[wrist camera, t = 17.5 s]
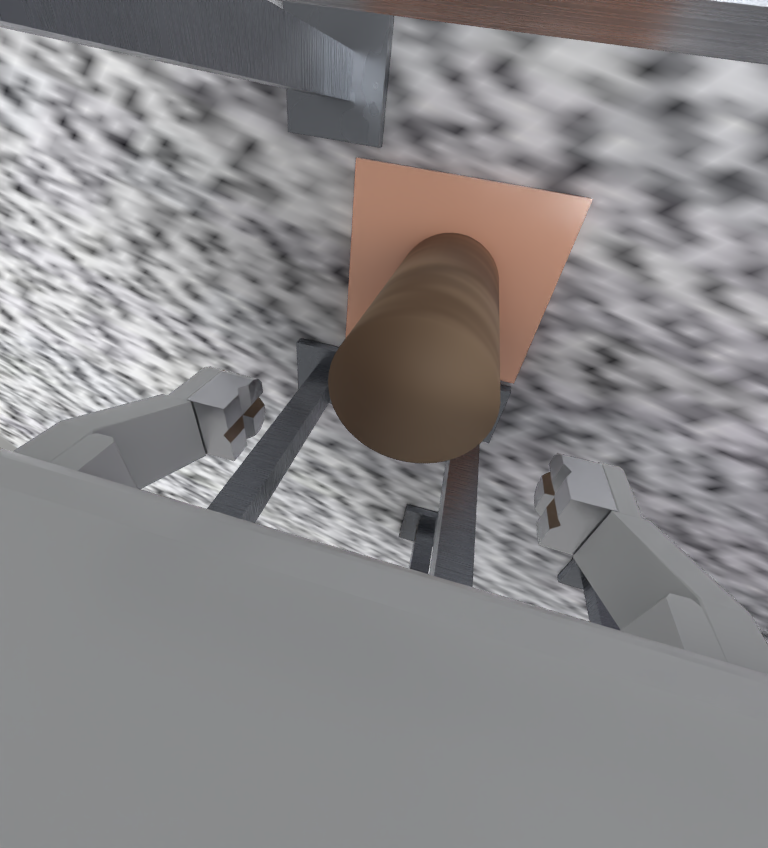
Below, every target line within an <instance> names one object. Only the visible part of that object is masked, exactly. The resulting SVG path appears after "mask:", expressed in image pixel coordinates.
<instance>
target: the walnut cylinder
mask: <svg viewBox="0 0 768 848" xmlns="http://www.w3.org/2000/svg"><path fill="white" fill-rule="evenodd" d="M328 388H329V394H330V399H331V402H332V405H333V408H334V410H335V412H336V414H337V416H338V417H339V419H340V420H341V422H342V424H343V425H344V426H345V427H346V428H347V430H348V431H349V432H350V433H351V434H352V435H353V436H354V437H355V438H357V439H358V440H359V441H360V442H361V443H363V444H364V445H366V446H367V447H369V448H370V449H372V450H374V451H376V452H378V453H380V454H382V455H385V456H387V457H390V458H393V459H396V460H400V461H405V462H412V463H437V462H442V461H447V460H450V459H454V458H456V457H459V456H461V455H464V454H465V453H467V452H469V451H471V450H472V449H473V448H475V447H476V446H477V445H479V444H480V443H481V442H482V441H483V440H484V439H485V438H486V437H487V435H488V434H489V433H490V431H491V430H492V428H493V426H494V424H495V422H496V420H497V417H498V414H499V408H500V327H499V275H498V270H497V267H496V264H495V261H494V259H493V257H492V256H491V254H490V253H489V251H488V250H487V249H486V248H485V247H484V246H483V245H482V244H481V243H480V242H478V241H477V240H475V239H473V238H471V237H469V236H467V235H463V234H459V233H441V234H437V235H434V236H431V237H429V238H427V239H424V240H423V241H421V242H420V243H419V244H417V245H416V246H415V247H414V248H413V249H412V250H411V251H410V252H409V254H408V255H407V256H406V258H405V259H404V260H403V262H402V263H401V264H400V266H399V267H398V268H397V270H396V271H395V273H394V274H393V275H392V277H391V278H390V279H389V281H388V282H387V283H386V285H385V286H384V287H383V289H382V290H381V291H380V293H379V294H378V295H377V297H376V298H375V300H374V301H373V302H372V304H371V305H370V306H369V308H368V309H367V310H366V312H365V313H364V314H363V316H362V317H361V318H360V320H359V321H358V322H357V324H356V325H355V327H354V328H353V329H352V331H351V332H350V333H349V335H348V336H347V337H346V339H345V340H344V341H343V343H342V344H341V345H340V347H339V349H338V350H337V352H336V353H335V355H334V357H333V360H332V362H331V366H330V370H329V377H328Z"/></svg>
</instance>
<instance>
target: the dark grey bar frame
mask: <svg viewBox="0 0 768 848" xmlns="http://www.w3.org/2000/svg"><path fill="white" fill-rule="evenodd" d="M279 1H283V9H281V8H280V7H278V6H276V5H275V4H273V3H271V2H270V1H268V0H0V27H2V28H7V29H11V30H16V31H21V32H25V33H30V34H35V35H39V36H44V37H48V38H53V39H58V40H62V41H67V42H72V43H76V44H81V45H85V46H90V47H95V48H99V49H104V50H109V51H113V52H118V53H123V54H127V55H132V56H136V57H141V58H146V59H150V60H155V61H160V62H164V63H169V64H173V65H178V66H183V67H187V68H192V69H197V70H201V71H206V72H210V73H215V74H220V75H224V76H229V77H234V78H238V79H243V80H248V81H252V82H257V83H261V84H266V85H271V86H275V87H280V88H285V89H286V90H287V114H288V132H292V133H298V134H304V135H309V136H315V137H321V138H327V139H333V140H339V141H345V142H350V143H356V144H362V145H368V146H374V147H382V140H383V129H384V118H385V108H386V97H387V86H388V76H389V65H390V54H391V44H392V33H393V22H394V16H401V17H409V18H416V19H424V20H431V21H439V22H447V23H454V24H462V25H470V26H477V27H485V28H492V29H500V30H508V31H515V32H523V33H530V34H538V35H546V36H553V37H561V38H569V39H576V40H584V41H591V42H599V43H607V44H614V45H622V46H629V47H637V48H645V49H652V50H660V51H668V52H675V53H683V54H690V55H698V56H706V57H713V58H721V59H728V60H736V61H744V62H751V63H759V64H767V65H768V0H279ZM338 349H339V347H336V346H332V345H327V344H323V343H319V342H314V341H310V340H306V339H302V338H300V340H299V341H298V342H297V364H298V389H299V390H298V391H297V392H296V394H295V395H294V396H293V398H292V399H291V400H290V401H289V403H288V404H287V405H286V407H285V408H284V409H283V411H282V412H281V413H280V414H279V416H278V417H277V418H276V420H275V421H274V422H273V424H272V425H271V426H270V427H269V429H268V430H267V431H266V433H265V434H264V435H263V437H262V438H261V439H260V441H259V442H258V443H257V444H256V446H255V447H254V448H253V450H252V451H251V452H250V454H249V455H248V456H247V457H246V459H245V460H244V461H243V463H242V464H241V465H240V467H239V468H238V469H237V470H236V472H235V473H234V474H233V476H232V477H231V478H230V480H229V481H228V482H227V484H226V485H225V486H224V487H223V489H222V490H221V491H220V493H219V494H218V495H217V497H216V498H215V499H214V500H213V502H212V503H211V504H210V506H209V507H208V508H207V509H209V510H212V511H216V512H219V513H222V514H226V515H229V516H233V517H236V518H239V519H243V520H246V521H250V522H253V523H255V522H256V520H257V518H258V517H259V515H260V514H261V512H262V510H263V509H264V507H265V505H266V504H267V502H268V501H269V499H270V497H271V496H272V494H273V493H274V491H275V489H276V488H277V486H278V484H279V483H280V481H281V480H282V478H283V476H284V475H285V473H286V471H287V470H288V468H289V467H290V465H291V463H292V462H293V460H294V458H295V457H296V455H297V454H298V452H299V450H300V449H301V447H302V446H303V444H304V442H305V441H306V439H307V437H308V436H309V434H310V433H311V431H312V429H313V428H314V426H315V424H316V423H317V421H318V420H319V418H320V416H321V415H322V413H323V412H324V410H325V408H326V407H327V405H328V403H331V404H332V402H331V399H330V394H329V388H328V377H329V370H330V366H331V362H332V360H333V357H334V355H335V353H336V352H337V350H338ZM510 393H511V388H510V387H508V386H504V385H500V408H499V414H498V417H497V420H496V422H495V424H494V426H493V428H492V430H491V431H490V433H489V434H488V435H487V437H486V438H485V439H484V440H483V442H487V443H489V442H490V440H491V437H492V435H493V433H494V430H495V428H496V426H497V423H498V421H499V419H500V416H501V414H502V412H503V409H504V407H505V405H506V403H507V400H508V398H509V396H510ZM478 464H479V445H477V446H476V447H475V448H473V449H472V450H471V451H469V452H467V453H465V454H464V455H461V456H459V457H456V458H454V459H450V460H447V461H446V465H445V472H444V479H443V485H442V492H441V499H440V506H439V512H438V513H437V512H433V511H430V510H426V509H423V508H419V507H415V506H412V505H408V504H407V508H406V511H405V515H404V519H403V523H402V526H401V530H400V534H399V537H400V538H404V539H407V540H411V541H414V544H413V549H412V554H411V559H410V564H409V569H412V570H416V571H419V572H422V573H426V574H428V571H429V565H430V558H431V551H432V547H433V553H432V559H431V566H430V573H429V575H433V576H436V577H439V578H443V579H446V580H450V581H453V582H457V583H460V584H463V585H467V586H470V587H472V586H473V566H474V545H475V525H476V505H477V485H478ZM558 582H559V583H563V584H566V585H570V586H573V587H577V588H580V589H584V595H585V600H586V605H587V610H588V615H589V620H590V622H592V623H596V624H599V625H602V626H606V627H609V628H613V629H616V630H619V631H620V628H619V627H618V625H617V624H616V622H615V621H614V619H613V618H612V616H611V615H610V613H609V612H608V610H607V609H606V607H605V605H604V604H603V602H602V601H601V599H600V598H599V596H598V595H597V593H596V592H595V590H594V589H593V587H592V586H591V584H590V583H589V581H588V580H587V578H586V577H585V575H584V574H583V572H582V570H581V569H580V567H579V566H578V564H577V563H576V561H575V560H574V558H573V559H572V561H571V562H570V563H569V564H568V565H567V566H566V567H565V568H564V569H563V570H562V572H561V573H560V574H559V575H558Z"/></svg>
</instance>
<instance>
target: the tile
mask: <svg viewBox="0 0 768 848" xmlns="http://www.w3.org/2000/svg"><path fill="white" fill-rule="evenodd" d="M592 200H593V199H592V198H588V197H583V196H577V195H571V194H565V193H560V192H554V191H548V190H543V189H537V188H531V187H525V186H520V185H514V184H508V183H502V182H497V181H491V180H485V179H480V178H474V177H468V176H462V175H457V174H451V173H445V172H439V171H434V170H428V169H422V168H417V167H411V166H405V165H399V164H394V163H388V162H382V161H376V160H371V159H365V158H359V157H358V158H356V165H355V183H354V200H353V218H352V235H351V252H350V270H349V287H348V305H347V322H346V337H347V336H348V335H349V333H350V332H351V331H352V329H353V328H354V327H355V325H356V324H357V322H358V321H359V320H360V318H361V317H362V316H363V314H364V313H365V312H366V310H367V309H368V308H369V306H370V305H371V304H372V302H373V301H374V300H375V298H376V297H377V295H378V294H379V293H380V291H381V290H382V289H383V287H384V286H385V285H386V283H387V282H388V281H389V279H390V278H391V277H392V275H393V274H394V273H395V271H396V270H397V268H398V267H399V266H400V264H401V263H402V262H403V260H404V259H405V258H406V256H407V255H408V254H409V252H410V251H411V250H412V249H413V248H414V247H415V246H416V245H417V244H419V243H420V242H421V241H423V240H424V239H427V238H429V237H431V236H434V235H437V234H441V233H459V234H463V235H467V236H469V237H471V238H473V239H475V240H477V241H478V242H480V243H481V244H482V245H483V246H484V247H485V248H486V249H487V250H488V251H489V253H490V254H491V256H492V257H493V259H494V261H495V264H496V267H497V270H498V275H499V327H500V380H501V381H505V382H509V383H514V382H515V379H516V377H517V375H518V373H519V370H520V368H521V366H522V363H523V361H524V359H525V356H526V354H527V352H528V349H529V347H530V345H531V342H532V340H533V338H534V335H535V333H536V331H537V328H538V326H539V324H540V321H541V319H542V317H543V314H544V312H545V310H546V307H547V305H548V303H549V300H550V298H551V296H552V293H553V291H554V289H555V286H556V284H557V282H558V280H559V277H560V275H561V273H562V270H563V268H564V266H565V263H566V261H567V259H568V256H569V254H570V252H571V249H572V247H573V245H574V242H575V240H576V238H577V235H578V233H579V231H580V228H581V226H582V224H583V221H584V219H585V217H586V214H587V212H588V210H589V207H590V205H591V203H592Z"/></svg>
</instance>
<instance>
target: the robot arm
mask: <svg viewBox="0 0 768 848" xmlns="http://www.w3.org/2000/svg"><path fill="white" fill-rule="evenodd" d="M262 393H263V389H262V382H261V381H259V380H258V379H256V378H252V377H249V376H245V375H241V374H238V373H234V372H230V371H227V370H226V371H225V370H222V369H218V368H214V367H211V366H210V367H204V368H203V369H202V370H200V371H199V372H198V373H196V374H195V375H194V376H192V377H191V378H190V379H188V380H187V381H186V382H185V383H183V384H182V385H181V386H179V387H178V388H177V389H175V390H174V391H173V392H171V393H170V394H169V395H164V394H161V395H157V396H153V397H149V398H146V399H142V400H138V401H134V402H131V403H127V404H123V405H119V406H116V407H112V408H108V409H104V410H100V411H97V412H93V413H89V414H85V415H82V416H78V417H74V418H70V419H66V420H63V421H60V422H58V423H56V424H55V425H53V426H52V427H50V428H49V429H47V430H46V431H44V432H42V433H41V434H39V435H38V436H36V437H35V438H33V439H31V440H30V441H28V442H27V443H25V444H24V445H22V446H20V447H19V448H17V449H16V450H14V451H13V452H12V451H9V450H5V449H2V448H0V848H768V645H767V643H766V641H765V639H764V637H763V636H762V634H761V632H760V630H759V628H758V626H757V625H756V623H755V621H754V619H753V617H752V615H751V614H750V613H749V612H748V611H747V610H746V609H745V608H744V607H743V606H741V605H740V604H739V603H738V602H737V601H736V600H735V599H734V598H733V597H732V596H731V595H730V594H729V593H727V592H726V591H725V590H724V589H723V588H722V587H721V586H720V585H719V584H718V583H717V582H716V581H715V580H713V579H712V578H711V577H710V576H709V575H708V574H707V573H706V572H705V571H704V570H703V569H702V568H700V567H699V566H698V565H697V564H696V563H695V562H694V561H693V560H692V559H691V558H690V557H689V556H688V555H686V554H685V553H684V552H683V551H682V550H681V549H680V548H679V547H678V546H677V545H676V544H675V543H674V542H672V541H671V540H670V539H669V538H668V537H667V536H666V535H665V534H664V533H663V532H662V531H661V530H660V529H658V528H657V527H656V526H655V525H654V524H653V523H652V522H651V521H650V520H646V519H643V517H642V515H641V512H640V510H639V507H638V505H637V502H636V500H635V497H634V495H633V492H632V490H631V487H630V485H629V482H628V480H627V477H626V475H625V472H624V470H623V469H622V468H620V467H618V466H613V465H609V464H604V463H600V462H598V463H597V462H593V461H589V460H584V459H580V458H576V457H572V456H568V455H564V454H560V453H557V454H556V455H555V456H554V457H553V458H552V460H551V461H550V463H549V467H550V472H548V473H546V474H544V475H542V476H541V478H540V480H539V482H538V484H537V487H536V490H535V495H534V507H535V510H536V511H537V513H538V514H539V515H540V518H539V519H538V521H537V523H536V526H537V535H538V544H539V545H540V546H544V547H547V548H550V549H554V550H557V551H560V552H564V553H567V554H570V555H574V556H573V558H574V560H575V561H576V563H577V564H578V566H579V567H580V569H581V570H582V572H583V574H584V575H585V577H586V578H587V580H588V581H589V583H590V584H591V586H592V587H593V589H594V590H595V592H596V593H597V595H598V596H599V598H600V599H601V601H602V602H603V604H604V605H605V607H606V609H607V610H608V612H609V613H610V615H611V616H612V618H613V619H614V621H615V622H616V624H617V625H618V627H619V628H620V631H619V630H616V629H613V628H609V627H606V626H602V625H599V624H596V623H592V622H589V621H586V620H582V619H579V618H575V617H572V616H569V615H565V614H562V613H558V612H555V611H552V610H548V609H545V608H541V607H538V606H535V605H531V604H528V603H525V602H521V601H518V600H514V599H511V598H508V597H504V596H501V595H497V594H494V593H491V592H487V591H484V590H480V589H477V588H474V587H470V586H467V585H463V584H460V583H457V582H453V581H450V580H446V579H443V578H439V577H436V576H433V575H429V574H426V573H422V572H419V571H416V570H412V569H409V568H405V567H402V566H399V565H395V564H392V563H388V562H385V561H382V560H378V559H375V558H372V557H368V556H365V555H361V554H358V553H355V552H351V551H348V550H344V549H341V548H338V547H334V546H331V545H328V544H324V543H321V542H317V541H314V540H311V539H307V538H304V537H300V536H297V535H294V534H290V533H287V532H283V531H280V530H277V529H273V528H270V527H267V526H263V525H260V524H256V523H253V522H250V521H246V520H243V519H239V518H236V517H233V516H229V515H226V514H222V513H219V512H216V511H212V510H209V509H205V508H202V507H199V506H195V505H192V504H188V503H185V502H182V501H178V500H175V499H172V498H168V497H165V496H161V495H158V494H155V493H151V492H148V491H144V490H141V489H142V488H144V487H146V486H148V485H149V484H151V483H153V482H155V481H157V480H159V479H161V478H163V477H165V476H167V475H169V474H171V473H173V472H175V471H177V470H179V469H181V468H183V467H185V466H186V465H188V464H190V463H192V462H194V461H196V460H198V459H200V458H202V457H204V456H206V454H208V455H212V456H216V457H220V458H224V459H228V460H232V461H235V460H236V458H237V457H238V456H239V455H240V454H241V452H242V451H243V450H244V449H245V448H246V446H247V439H248V438H250V437H253V436H255V435H256V434H257V433H258V432H259V430H260V429H261V427H262V424H263V422H264V419H265V405H264V403H263V402H262V401H261V399H260V398H259V396H260V395H261V394H262Z"/></svg>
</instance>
